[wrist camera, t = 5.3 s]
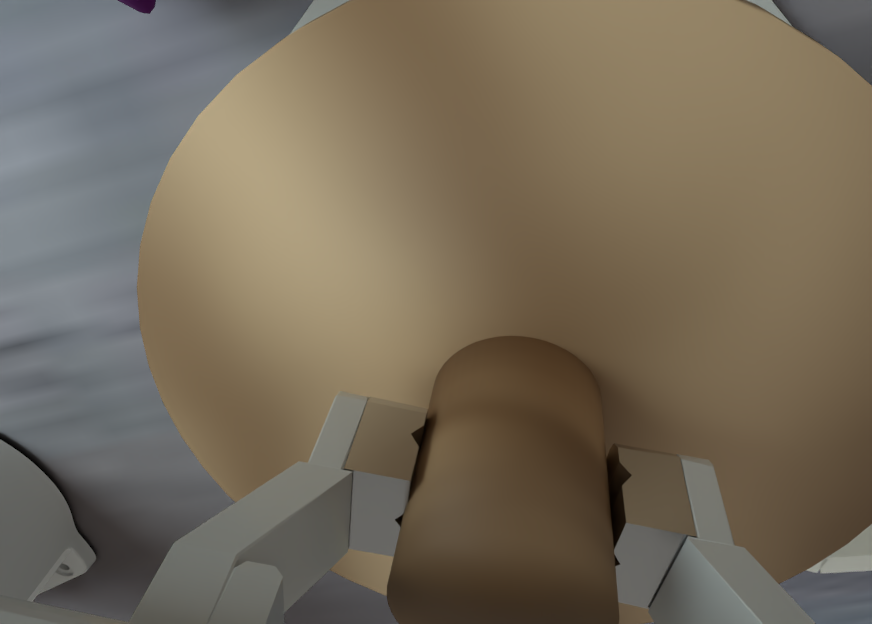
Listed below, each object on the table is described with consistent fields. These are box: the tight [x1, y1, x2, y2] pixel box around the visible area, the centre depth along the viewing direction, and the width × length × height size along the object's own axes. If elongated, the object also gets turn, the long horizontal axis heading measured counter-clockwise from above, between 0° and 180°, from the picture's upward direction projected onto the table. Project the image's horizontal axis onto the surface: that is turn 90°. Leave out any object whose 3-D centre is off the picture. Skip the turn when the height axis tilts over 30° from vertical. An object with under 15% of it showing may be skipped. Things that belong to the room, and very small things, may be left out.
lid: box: [137, 0, 872, 624], centre depth 11 cm, size 14×14×5 cm
